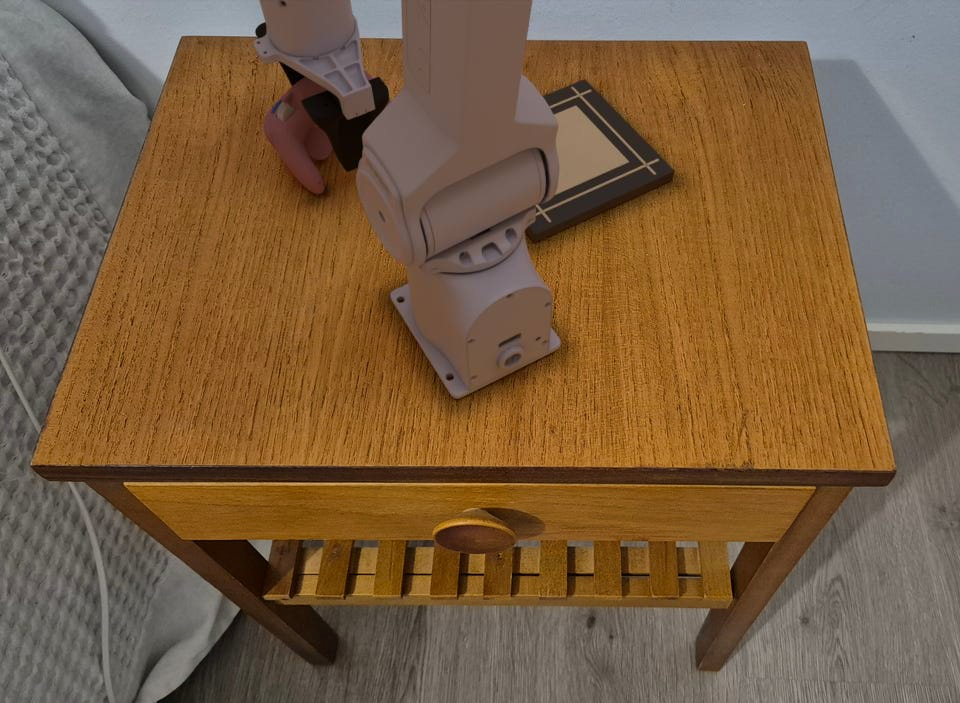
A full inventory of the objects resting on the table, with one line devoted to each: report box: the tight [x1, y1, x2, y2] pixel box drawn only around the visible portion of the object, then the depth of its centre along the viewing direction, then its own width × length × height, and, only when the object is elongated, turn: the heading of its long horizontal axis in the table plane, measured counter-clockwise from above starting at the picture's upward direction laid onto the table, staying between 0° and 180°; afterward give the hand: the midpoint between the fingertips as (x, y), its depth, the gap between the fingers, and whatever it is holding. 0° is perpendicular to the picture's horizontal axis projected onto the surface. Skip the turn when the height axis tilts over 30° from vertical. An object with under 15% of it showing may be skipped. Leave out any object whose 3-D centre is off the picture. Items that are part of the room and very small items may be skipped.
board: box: [525, 78, 675, 244], centre depth 61 cm, size 12×12×1 cm
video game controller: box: [263, 69, 392, 195], centre depth 61 cm, size 10×5×7 cm, turn 137°
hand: (336, 134), depth 62 cm, fingers closed on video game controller, 7 cm apart
